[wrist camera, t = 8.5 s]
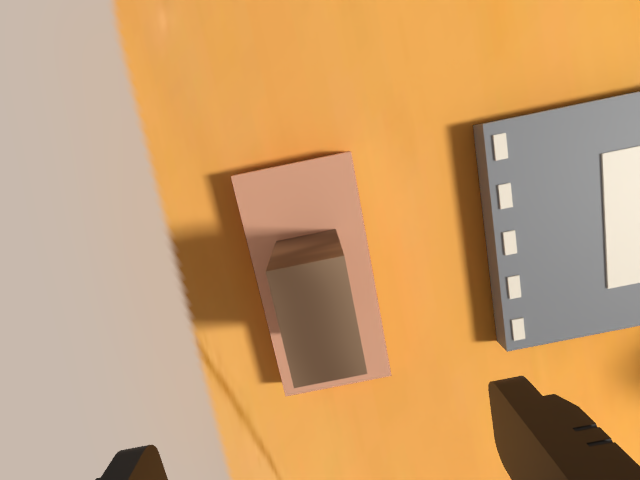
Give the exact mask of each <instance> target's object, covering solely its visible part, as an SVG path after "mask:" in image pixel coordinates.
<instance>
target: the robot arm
mask: <svg viewBox="0 0 640 480" xmlns="http://www.w3.org/2000/svg"><path fill="white" fill-rule="evenodd" d="M489 398H490V406H491V414H492V421H493V429H494V437H495V443H496V447H497V450H498V453H499V456H500V459H501V461H502V463H503V465H504V467H505V469H506V471H507V473H508V474H509V476H510V478H511V479H512V480H640V466H639V465H638V464H637V463H636V462H635V461H634V460H633V459H632V458H631V457H630V456H629V455H628V454H626V453H625V452H624V451H623V450H622V449H621V448H620V447H619V446H618V445H617V444H616V443H615V442H614V443H613V442H612V440H611V438H610V437H609V436H608V435H607V434H606V433H605V432H604V431H603V430H602V429H601V428H600V427H597V426H596V423H595V422H594V421H593V420H592V419H591V418H590V417H589V416H588V415H587V414H586V413H585V412H583V411H582V410H581V409H580V408H579V407H578V406H576V405H575V404H573V403H571V402H569V401H567V400H565V399H563V398H561V397H559V396H557V395H555V394H552V395H546V396H542V395H541V394H540V393H539V392H538V390H537V389H536V388H535V387H534V386H533V385H532V384H531V383H530V382H529V381H528V380H527V379H526V378H525V377H524V376H518V377H513V378H508V379H502V380H497V381H492V382H490V383H489ZM96 480H168V479H167V476H166V473H165V470H164V467H163V464H162V461H161V458H160V455H159V452H158V450H157V448H156V447H155V446H154V445H148V446H142V447H137V448H132V449H126V450H121V451H119V452H118V453H117V454H116V455H115V457H114V458H113V460H112V461H111V463H110V464H109V466H108V467H107V469H106V470H105V472H104V474H103V475H102V476H101V478H97V479H96Z"/></svg>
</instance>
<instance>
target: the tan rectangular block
mask: <svg viewBox="0 0 640 480" xmlns="http://www.w3.org/2000/svg"><path fill="white" fill-rule="evenodd" d="M231 180H232V184H233V188H234V192H235V196H236V200H237V204H238V208H239V212H240V216H241V220H242V224H243V228H244V232H245V236H246V240H247V244H248V248H249V252H250V256H251V260H252V264H253V268H254V272H255V276H256V280H257V284H258V288H259V292H260V296H261V300H262V304H263V308H264V312H265V316H266V320H267V324H268V328H269V332H270V336H271V340H272V344H273V348H274V352H275V356H276V360H277V364H278V368H279V372H280V376H281V380H282V384H283V388H284V392H285V396H290V395H295V394H300V393H305V392H311V391H316V390H321V389H326V388H331V387H336V386H341V385H346V384H352V383H357V382H362V381H367V380H372V379H377V378H382V377H387V376H391V371H390V365H389V360H388V354H387V349H386V343H385V337H384V332H383V326H382V321H381V315H380V310H379V304H378V299H377V293H376V288H375V282H374V277H373V271H372V265H371V260H370V254H369V249H368V243H367V238H366V232H365V227H364V221H363V216H362V210H361V205H360V199H359V193H358V188H357V182H356V177H355V171H354V166H353V160H352V155H351V152H350V151H347V152H342V153H337V154H333V155H328V156H323V157H318V158H313V159H308V160H304V161H299V162H294V163H289V164H284V165H279V166H275V167H270V168H265V169H260V170H255V171H250V172H246V173H241V174H236V175H233V176H231Z"/></svg>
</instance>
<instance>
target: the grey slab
mask: <svg viewBox="0 0 640 480" xmlns="http://www.w3.org/2000/svg"><path fill="white" fill-rule="evenodd" d="M473 131H474V140H475V149H476V158H477V166H478V175H479V184H480V193H481V202H482V211H483V220H484V229H485V238H486V247H487V256H488V265H489V274H490V283H491V292H492V300H493V309H494V318H495V327H496V336H497V342H498V343H499V344H500V345H501V346H502V347H503V348H504V349H505V350H506V351H512V350H517V349H522V348H527V347H533V346H538V345H543V344H548V343H553V342H558V341H563V340H568V339H573V338H579V337H584V336H589V335H594V334H599V333H604V332H609V331H614V330H620V329H625V328H630V327H635V326H640V91H637V92H632V93H627V94H622V95H617V96H613V97H608V98H603V99H598V100H593V101H588V102H584V103H579V104H574V105H569V106H564V107H559V108H554V109H550V110H545V111H540V112H535V113H530V114H525V115H521V116H516V117H511V118H506V119H501V120H496V121H492V122H487V123H482V124H477V125H473Z"/></svg>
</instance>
